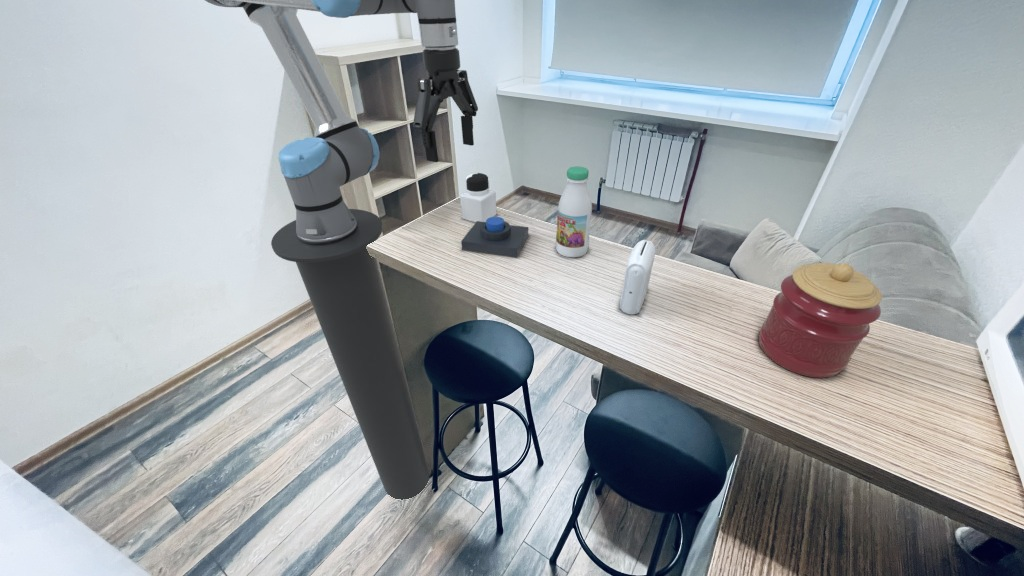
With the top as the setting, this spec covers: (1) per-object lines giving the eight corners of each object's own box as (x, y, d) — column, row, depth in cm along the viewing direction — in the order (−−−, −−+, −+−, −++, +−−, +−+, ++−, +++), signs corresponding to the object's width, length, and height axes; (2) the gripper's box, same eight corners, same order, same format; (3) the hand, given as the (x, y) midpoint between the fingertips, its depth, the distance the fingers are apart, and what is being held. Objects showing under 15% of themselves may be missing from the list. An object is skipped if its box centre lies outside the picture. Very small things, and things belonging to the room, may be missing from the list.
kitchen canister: (838, 338, 72) (890, 253, 62) (850, 390, 63) (914, 300, 53) (756, 318, 77) (792, 236, 67) (756, 364, 68) (798, 277, 57)
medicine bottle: (497, 214, 115) (495, 173, 108) (482, 224, 110) (480, 182, 103) (476, 209, 118) (473, 169, 111) (461, 219, 113) (457, 177, 106)
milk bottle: (565, 239, 103) (570, 161, 91) (593, 247, 99) (602, 167, 88) (549, 252, 98) (553, 171, 86) (578, 261, 94) (586, 178, 83)
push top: (484, 231, 99) (483, 223, 97) (489, 223, 102) (489, 215, 101) (501, 233, 98) (501, 225, 96) (506, 225, 101) (506, 217, 100)
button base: (462, 250, 100) (460, 233, 97) (477, 229, 108) (476, 214, 106) (517, 257, 96) (516, 240, 94) (528, 235, 105) (528, 220, 102)
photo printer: (639, 317, 78) (650, 263, 71) (616, 311, 79) (626, 258, 72) (648, 288, 85) (660, 236, 78) (628, 284, 87) (637, 232, 80)
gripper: (412, 56, 73) (428, 171, 85) (489, 42, 90) (493, 140, 103) (382, 54, 76) (402, 165, 89) (462, 41, 93) (469, 136, 106)
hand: (451, 152), depth 96 cm, fingers open, 13 cm apart
